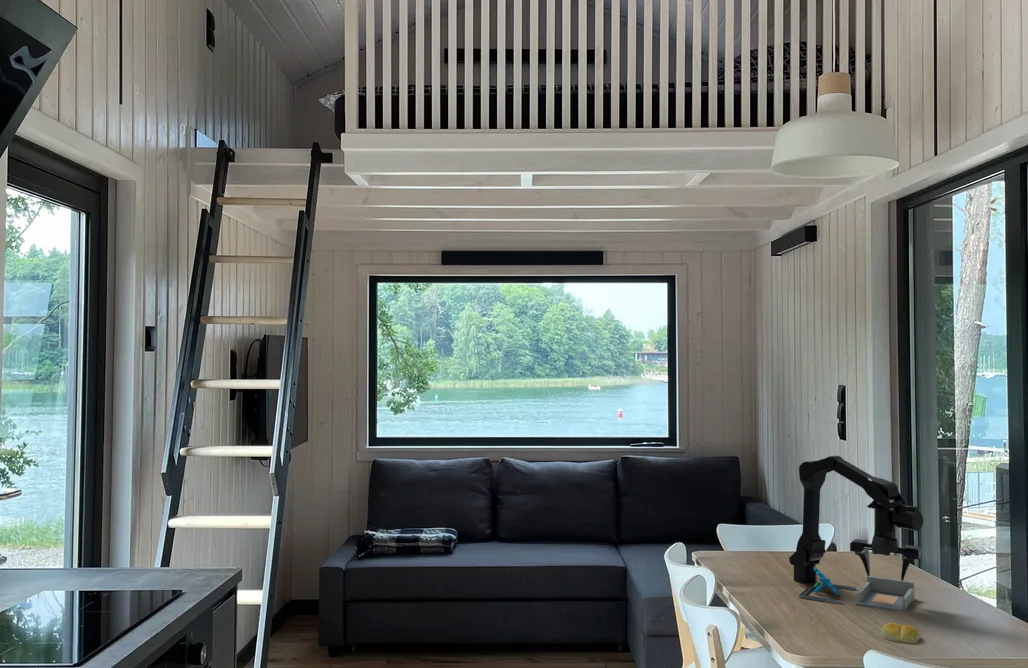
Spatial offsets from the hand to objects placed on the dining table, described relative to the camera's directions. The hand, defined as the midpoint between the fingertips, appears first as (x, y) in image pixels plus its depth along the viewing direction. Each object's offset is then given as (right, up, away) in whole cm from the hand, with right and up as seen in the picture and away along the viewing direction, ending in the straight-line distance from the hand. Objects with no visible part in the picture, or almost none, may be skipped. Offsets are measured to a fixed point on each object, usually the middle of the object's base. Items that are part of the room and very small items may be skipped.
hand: (885, 578), depth 247 cm
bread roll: (-15, -6, -35) cm, 39 cm away
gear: (-12, -8, +8) cm, 17 cm away
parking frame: (-14, -7, +9) cm, 18 cm away
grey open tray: (0, -7, 0) cm, 7 cm away
